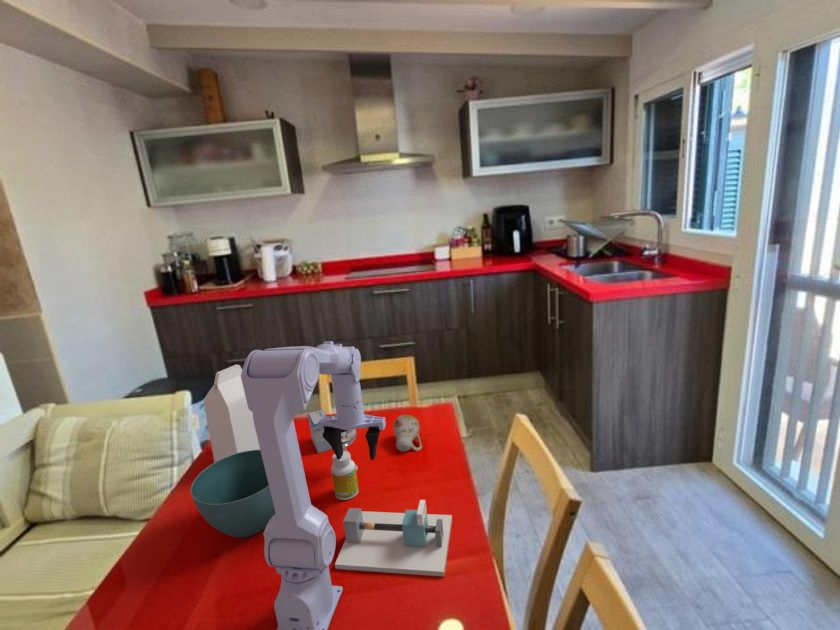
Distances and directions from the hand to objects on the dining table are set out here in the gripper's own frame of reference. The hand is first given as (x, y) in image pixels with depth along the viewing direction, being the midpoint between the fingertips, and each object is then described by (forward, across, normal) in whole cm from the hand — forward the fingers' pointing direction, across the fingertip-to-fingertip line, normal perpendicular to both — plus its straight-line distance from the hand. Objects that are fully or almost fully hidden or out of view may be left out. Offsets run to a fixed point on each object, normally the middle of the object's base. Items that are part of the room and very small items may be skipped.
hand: (356, 457), depth 97 cm
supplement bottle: (+10, +4, -1) cm, 11 cm away
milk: (+10, +37, -14) cm, 41 cm away
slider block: (+9, -15, +13) cm, 22 cm away
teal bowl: (+10, +22, +10) cm, 26 cm away
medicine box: (+10, +18, -21) cm, 30 cm away
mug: (+10, -6, -22) cm, 25 cm away
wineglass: (+10, +7, -10) cm, 16 cm away
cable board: (+10, -11, +13) cm, 20 cm away
